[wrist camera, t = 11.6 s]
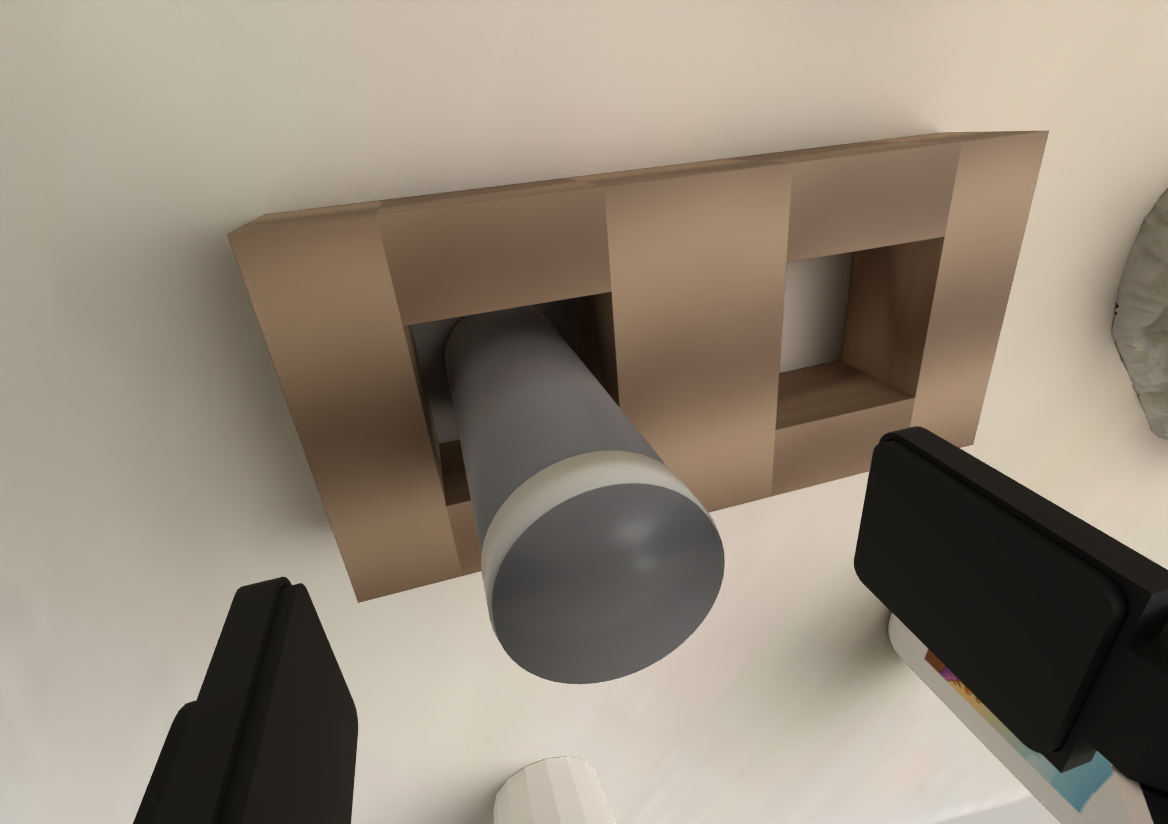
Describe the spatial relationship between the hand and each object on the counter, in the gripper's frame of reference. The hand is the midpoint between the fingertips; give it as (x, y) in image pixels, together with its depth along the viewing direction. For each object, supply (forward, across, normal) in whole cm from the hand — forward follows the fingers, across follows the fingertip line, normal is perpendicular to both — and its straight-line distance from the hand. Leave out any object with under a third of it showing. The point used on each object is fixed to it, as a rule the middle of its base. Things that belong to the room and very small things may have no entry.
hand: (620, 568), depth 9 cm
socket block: (+12, -5, +1) cm, 13 cm away
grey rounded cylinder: (+12, 0, +1) cm, 12 cm away
